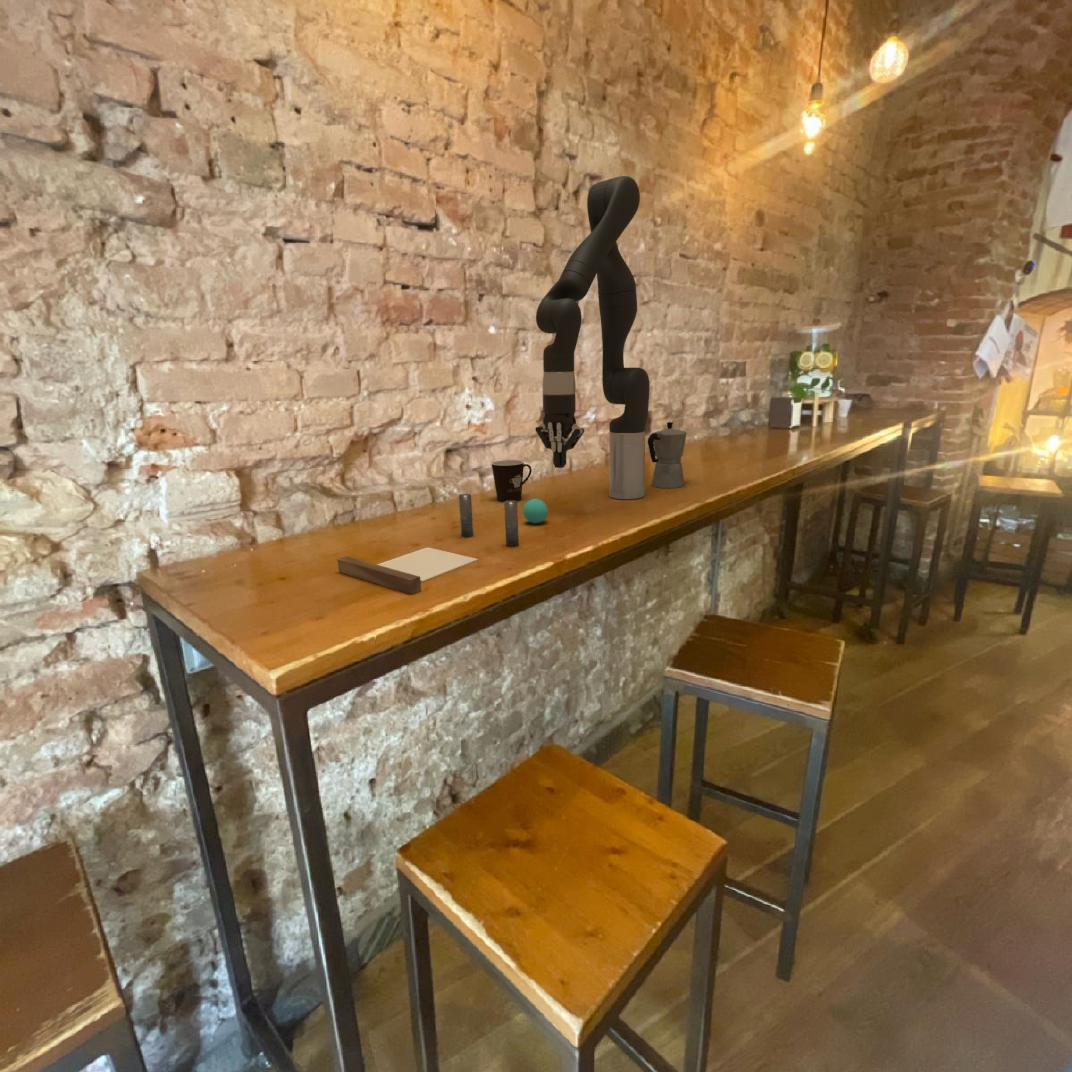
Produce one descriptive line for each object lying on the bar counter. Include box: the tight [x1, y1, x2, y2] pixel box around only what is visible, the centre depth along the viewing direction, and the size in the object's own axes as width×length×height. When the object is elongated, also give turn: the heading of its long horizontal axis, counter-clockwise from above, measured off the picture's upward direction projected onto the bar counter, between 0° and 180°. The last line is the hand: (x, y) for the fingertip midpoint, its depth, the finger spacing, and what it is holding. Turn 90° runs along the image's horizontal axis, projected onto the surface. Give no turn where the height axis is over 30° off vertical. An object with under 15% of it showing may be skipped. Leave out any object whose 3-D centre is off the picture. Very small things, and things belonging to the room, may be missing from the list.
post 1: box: [458, 493, 474, 538], centre depth 132 cm, size 3×3×9 cm
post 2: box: [503, 500, 520, 548], centre depth 124 cm, size 3×3×9 cm
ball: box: [523, 498, 549, 524], centre depth 140 cm, size 6×6×6 cm
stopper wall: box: [337, 555, 422, 595], centre depth 107 cm, size 2×20×2 cm, turn 52°
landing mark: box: [376, 547, 479, 583], centre depth 116 cm, size 14×14×1 cm
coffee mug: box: [491, 459, 533, 503], centre depth 164 cm, size 12×9×10 cm
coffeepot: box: [647, 421, 688, 490], centre depth 173 cm, size 15×9×18 cm, turn 129°
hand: (559, 467), depth 145 cm, fingers closed
